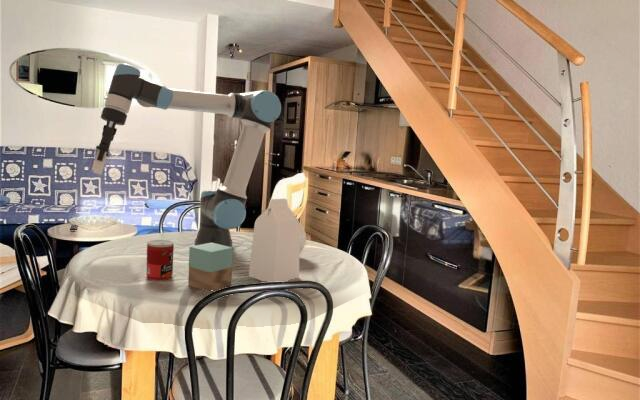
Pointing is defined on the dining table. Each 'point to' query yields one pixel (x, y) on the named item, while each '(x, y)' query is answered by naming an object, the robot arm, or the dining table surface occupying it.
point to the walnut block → (209, 278)
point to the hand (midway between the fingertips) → (96, 172)
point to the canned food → (159, 259)
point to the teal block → (210, 257)
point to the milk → (275, 244)
